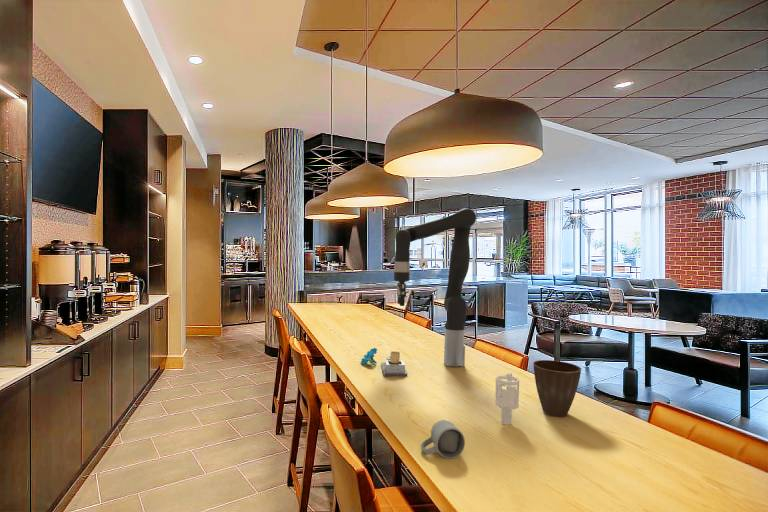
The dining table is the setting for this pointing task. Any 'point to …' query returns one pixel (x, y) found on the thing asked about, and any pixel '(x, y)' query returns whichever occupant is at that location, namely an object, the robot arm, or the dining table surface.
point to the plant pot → (556, 385)
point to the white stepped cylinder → (507, 396)
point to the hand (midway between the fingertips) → (400, 304)
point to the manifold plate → (393, 368)
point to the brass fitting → (395, 357)
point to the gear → (369, 357)
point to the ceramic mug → (445, 440)
